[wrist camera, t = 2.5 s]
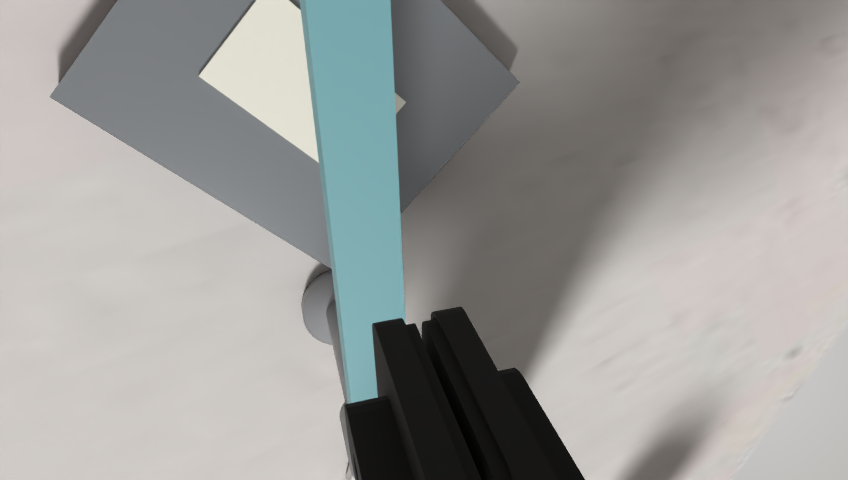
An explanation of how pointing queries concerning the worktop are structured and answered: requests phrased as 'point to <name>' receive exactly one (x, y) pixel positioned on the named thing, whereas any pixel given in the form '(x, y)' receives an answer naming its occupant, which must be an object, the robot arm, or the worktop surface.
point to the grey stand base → (273, 108)
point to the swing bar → (357, 174)
